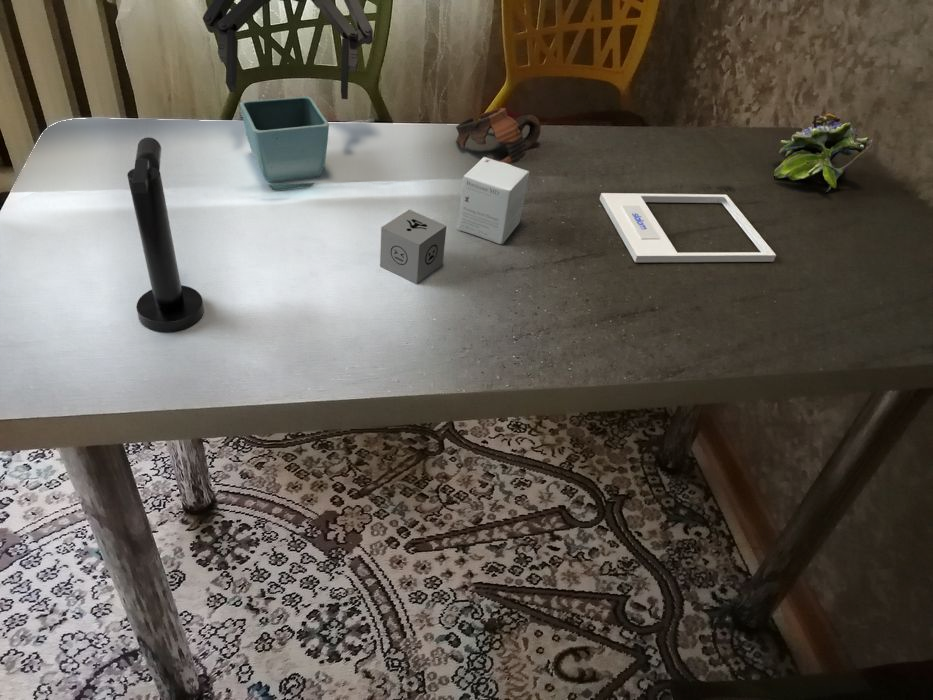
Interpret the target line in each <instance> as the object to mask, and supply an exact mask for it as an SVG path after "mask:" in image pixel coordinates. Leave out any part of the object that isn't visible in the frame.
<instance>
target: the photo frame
mask: <svg viewBox="0 0 933 700" xmlns="http://www.w3.org/2000/svg"><path fill="white" fill-rule="evenodd" d="M599 201H600V203H601V205H602V207H603V208H604V210H605V212H606V214H607V215H608V218H609V219H610V220H611V223H612V224H613V226H614V228H615V229H616V232H617V233H618V235H619V236H620V239H621V240H622V242H623V244H624V245H625V247H626V249H627V250H628V252H629V254H630V256H631V258H632V260H633V261H634V263H750V262H752V263H755V262H756V263H765V262H770V263H773V262H774V261H775V259H776V257H777V254H776V253H775V252H774V250H773V249H772V248H771V247H770V245H768V243H767V242H766V240H764V239H763V237H762V236H761V235H760V233H759V232H758V231H757V230H756V229H755V227H754V226H753V225H752V223H750V221H749V220H748V218H747V217H746V216H745V215H744V214H743V212H742V211H741V210H740V209H739V208H738V207H737V206H736V204H735V203H734V201H733V200H732V199H731V198H730V196H728V195H727V194H713V193H712V194H711V193H710V194H709V193H708V194H706V193H705V194H704V193H634V192H633V193H630V192H629V193H625V192H624V193H622V192H617V193H616V192H601V193H600V196H599ZM646 203H677V204H678V203H684V204H686V203H687V204H688V203H689V204H692V203H693V204H694V203H695V204H722V205H723V207H724V208H725V209H726V210H727V211H728V213H729V214H730V215H731V217H732V218H733V219H734V221H735V222H736V223H737V224H738V225H739V227H740V228H741V229H742V231H743V232H744V234H746V235H747V237H748V238H749V239H750V240H751V241H752V243H753V244H754V245H755V247H756V248H757V249H758V251H757V252H756V251H753V252H751V251H750V252H748V251H747V252H742V251H741V252H737V251H736V252H731V251H729V252H718V251H717V252H678V251H677V250H676V248H675V247H674V245H673V244H672V242H671V240H670V239H669V237H668V236H667V234H666V233H665V231H664V230H663V228H662V226H661V225H660V223H659V222H658V220H657V219H656V217H655V216H654V215H653V213H652V211H651V210H650V208H649V207H648V205H647V204H646Z"/></svg>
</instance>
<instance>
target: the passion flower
mask: <svg viewBox="0 0 933 700" xmlns="http://www.w3.org/2000/svg"><path fill="white" fill-rule="evenodd" d="M841 120H842V117H841V116H835V114H831V113H827V114H826V115H825V116H824V115H821V114H817V113H816V114H814V115H813V118H812V121H811V123H812V125H813V126H808V127H807V128H803V127H801V129H802V130H801V131H795V133H793V135H791V139H789V140H783V139H782V140H780V144H781V145H782V147H781V148H780V150H779V151H778V154H782V153H784V152H786V151H787V152H786V153H785V156H784V157H785V159H784V160H783V161H782V162H781V163H780V165H778V166H777V167H776V168H775V169H774V171H773V177H774V176H777V178H776V179H785V178H787V179H789V180H791V181H800V180H803V179H807V178H808V177H811V176H813V175H816V174H818V173H819V172H821V171H822V176H823V178H824V181H826V183H827V184H828V187H827V189H826V191H825V193H826V192H829V191H830V190H831V189H832V188H833V189H836V188H837V180H838V178H839V177H840V176H842V174H844V173H845V170H846V169H847V168H848V167H850V166H851V165H852V164H853V163H854V162H855V161H856V160H858V159H859V158H860V157H861V156H863V155H864V154H866V153H867V152H868V151H869V150H870V149H872V148H873V147H872V146H873V140H874V139H873V138H872V139H870V138H869V137H864V138H858V133H859V131H858V129H857V128H856V127H854V126H853V125H852V123H851V122H849V121H848V122H845V123H841V122H840V121H841ZM856 137H857V138H856ZM855 139H856V141H855ZM869 140H870V141H869ZM853 151H857V152H858V154H857V155H856V156H855V157H854V158H852V159H851V160H850V161H849V162H848V163H846V164H845V165H844V166H841V167H835V166H834V165H833V163H832V161H833V159H834V158H835V157H836V156H837V155H839V154H842V155H845V156H852V155H853Z"/></svg>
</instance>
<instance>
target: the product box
mask: <svg viewBox="0 0 933 700" xmlns="http://www.w3.org/2000/svg"><path fill="white" fill-rule="evenodd" d="M499 161H500V160H495V159H492V158H490V157H486V156H483V157H482V158H481V159H480V160H479V161H478V162H477V163H476V164H475V165H474V166H473V167H472V168H471V169H470V170H468V171H467V173H465V174H464V175H463V178H462V188H461V194H460V202H459V211H458V219H457V220H458V221H457V230H458V231H460V232H464V233H467V234H470V235H473V236H476V237H478V238H482V239H485V240H487V241H490V242H492V243H495V244H498V245H504V244H505V242H506V241H507V239H508V238H509V237H510V235H511V234H512V233H513V232H514V231H515V229H516V228H517V227H518V226H519V225H520V223H521V218H522V212H523V209H524V203H525V198H526V193H527V186H528V181H529V176H530V171H529V170H526V169H524V168H521V167H517V166H514V165H512V164H507V163H504V162H499Z"/></svg>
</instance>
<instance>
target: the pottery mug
mask: <svg viewBox="0 0 933 700" xmlns="http://www.w3.org/2000/svg"><path fill="white" fill-rule="evenodd" d="M526 126H528V127H529V130H528V133H527V135H526V136H525V137H524V136H523V135H524V134H523V130H524V129H525V127H526ZM541 127H542V126H541V123H540V120H539V119H538V118H537V117H536V116H535V115H532V114H525V115H521V116H518V117H511V116H509V115H508V112H507V108H505V107H499V108H496V109H492V110H489V111H486V112H483V113H481V114H479V119H478V120H477V119H476V120H474V118H473V117H470V118H467V119H466V120H464V121H461V122H460V123H458V124H457V125H456V126H455V129H456V131H457V133H458V134H457V137H456V141H455V142H456V143H457V144H458V145H460V147H461V149H462V150H464V149H465V148H466V144H467V141H468V139H469V138H470V139H471V140H473V141H474V142H476V144H478V145H486V144H487V141H486V140H487V139H486V138H487V137H488V136H487V135H488V133H489V131H490V130H492V131H493V134H494V138H495V140H497V142H499V144H504V146H505V149H506V151H507V156H506V157H505V158H503V159H501V160H498V161H499V162H504V163H507V164H510V165H512V164H514V163H515V164H516V163H517V162H520V160H521V159H523V157H524V156H525V155H526V151H528V149H530V148H531V147H533V146H534V145H535V143H536V142H537V141H538V139H539V137H540V135H541Z"/></svg>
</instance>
